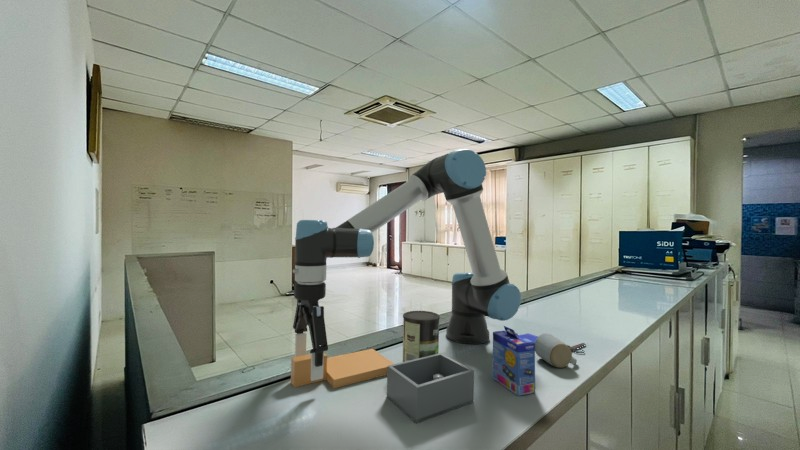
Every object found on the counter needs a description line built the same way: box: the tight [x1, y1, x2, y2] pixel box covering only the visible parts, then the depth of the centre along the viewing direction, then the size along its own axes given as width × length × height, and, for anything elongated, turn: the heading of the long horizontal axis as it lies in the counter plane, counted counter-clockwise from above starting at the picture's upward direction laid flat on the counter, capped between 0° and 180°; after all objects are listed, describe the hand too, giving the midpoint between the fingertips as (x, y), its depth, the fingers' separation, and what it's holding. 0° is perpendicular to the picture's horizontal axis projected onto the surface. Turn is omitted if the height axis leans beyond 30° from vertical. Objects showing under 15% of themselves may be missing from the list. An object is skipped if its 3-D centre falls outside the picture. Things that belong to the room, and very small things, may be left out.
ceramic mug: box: [535, 332, 578, 369], centre depth 95 cm, size 11×8×8 cm
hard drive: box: [520, 333, 539, 342], centre depth 113 cm, size 2×8×12 cm
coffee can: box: [402, 310, 440, 362], centre depth 91 cm, size 10×10×14 cm
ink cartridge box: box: [492, 325, 536, 397], centre depth 81 cm, size 10×6×14 cm, turn 21°
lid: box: [290, 348, 395, 389], centre depth 85 cm, size 25×13×6 cm, turn 123°
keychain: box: [566, 342, 587, 354], centre depth 107 cm, size 8×18×2 cm, turn 124°
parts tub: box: [386, 352, 475, 424], centre depth 73 cm, size 16×12×7 cm
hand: (308, 368), depth 80 cm, fingers open, 13 cm apart
